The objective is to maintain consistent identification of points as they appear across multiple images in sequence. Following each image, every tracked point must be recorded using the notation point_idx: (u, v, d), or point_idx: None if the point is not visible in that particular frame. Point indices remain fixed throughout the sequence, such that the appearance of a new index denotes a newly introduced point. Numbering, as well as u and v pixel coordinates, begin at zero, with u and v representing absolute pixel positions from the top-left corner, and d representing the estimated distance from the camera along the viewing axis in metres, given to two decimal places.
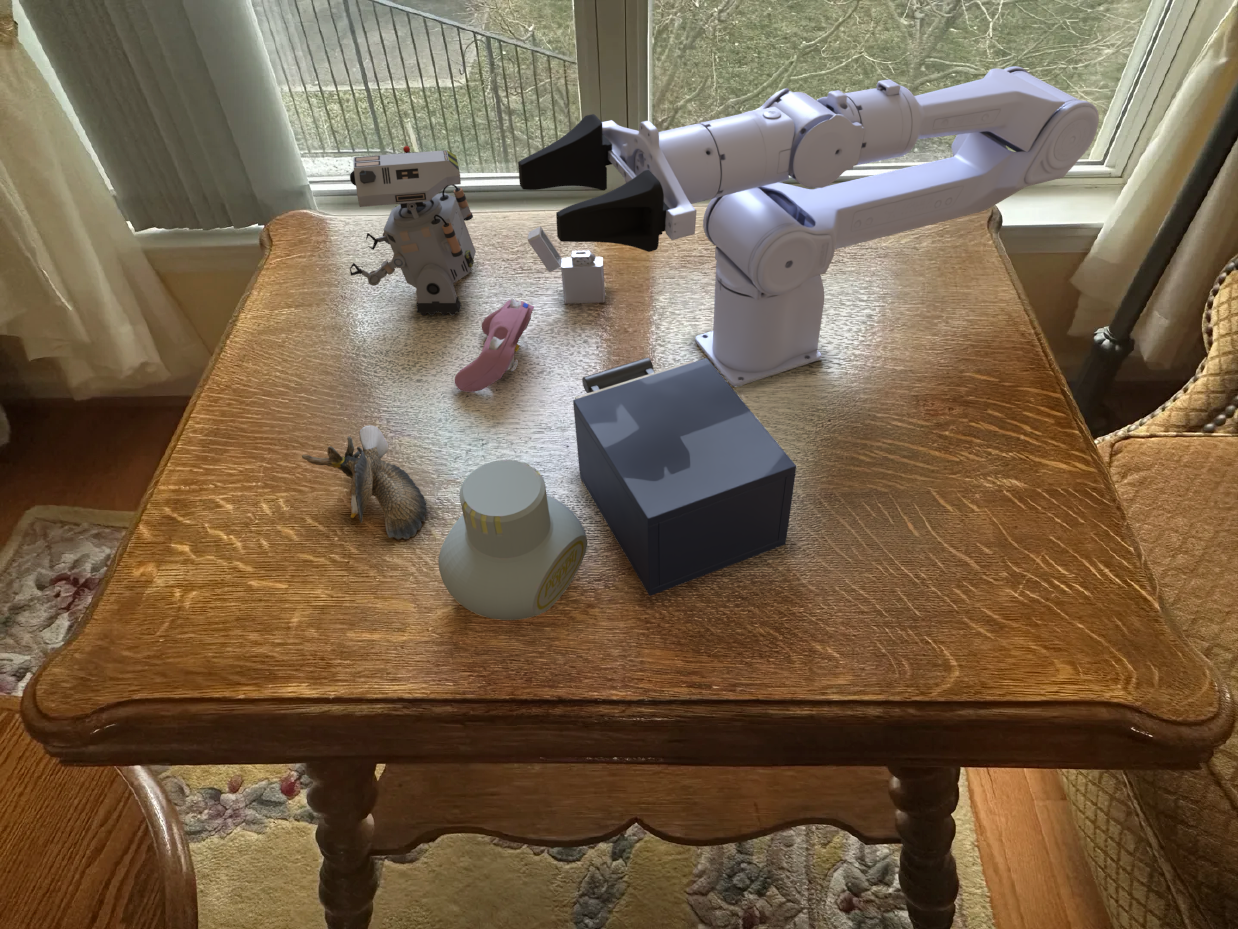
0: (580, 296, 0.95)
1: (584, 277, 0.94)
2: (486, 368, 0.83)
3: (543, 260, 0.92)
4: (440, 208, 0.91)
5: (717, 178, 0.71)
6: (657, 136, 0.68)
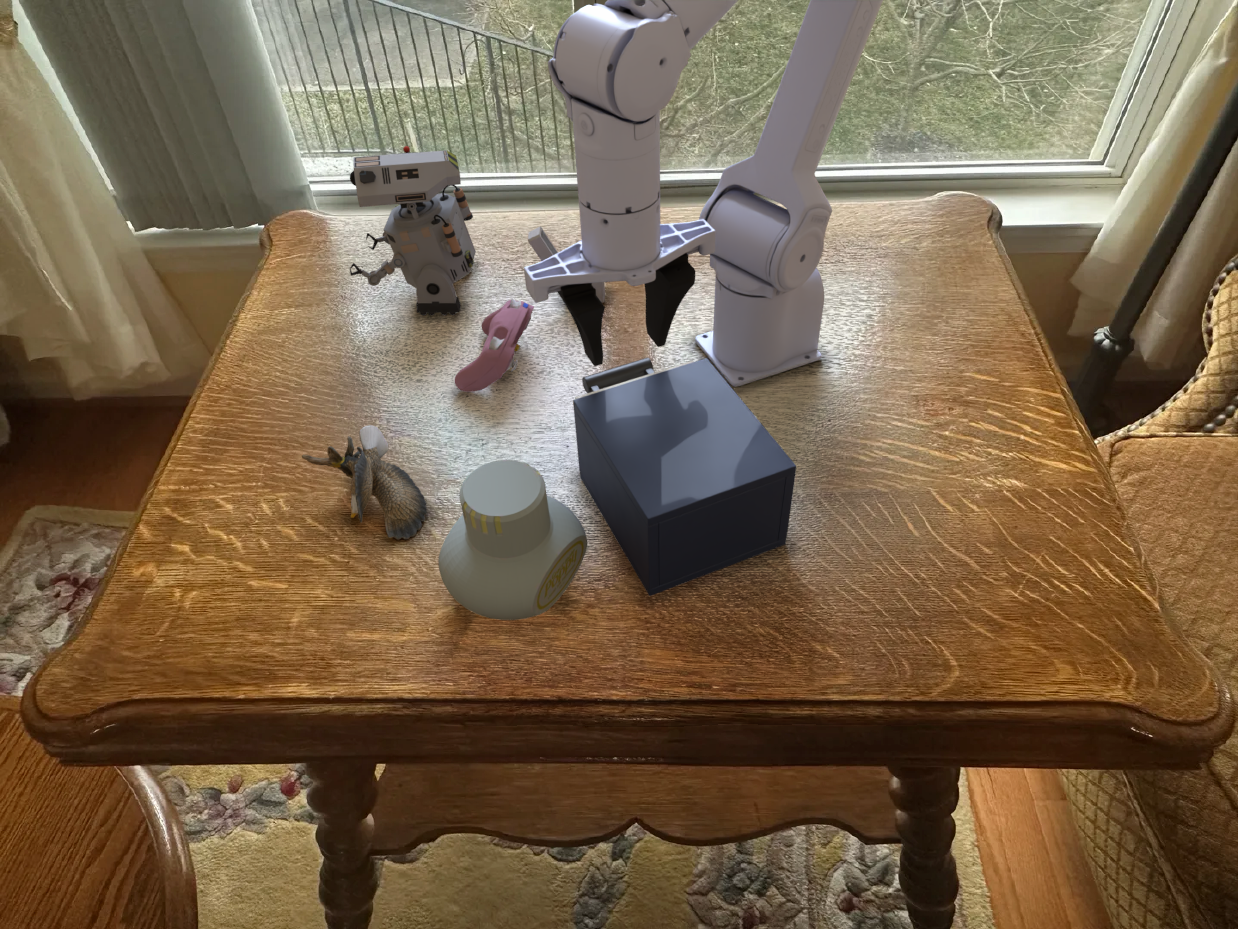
0: None
1: None
2: (486, 368, 0.83)
3: None
4: (440, 209, 0.91)
5: None
6: (655, 271, 0.67)
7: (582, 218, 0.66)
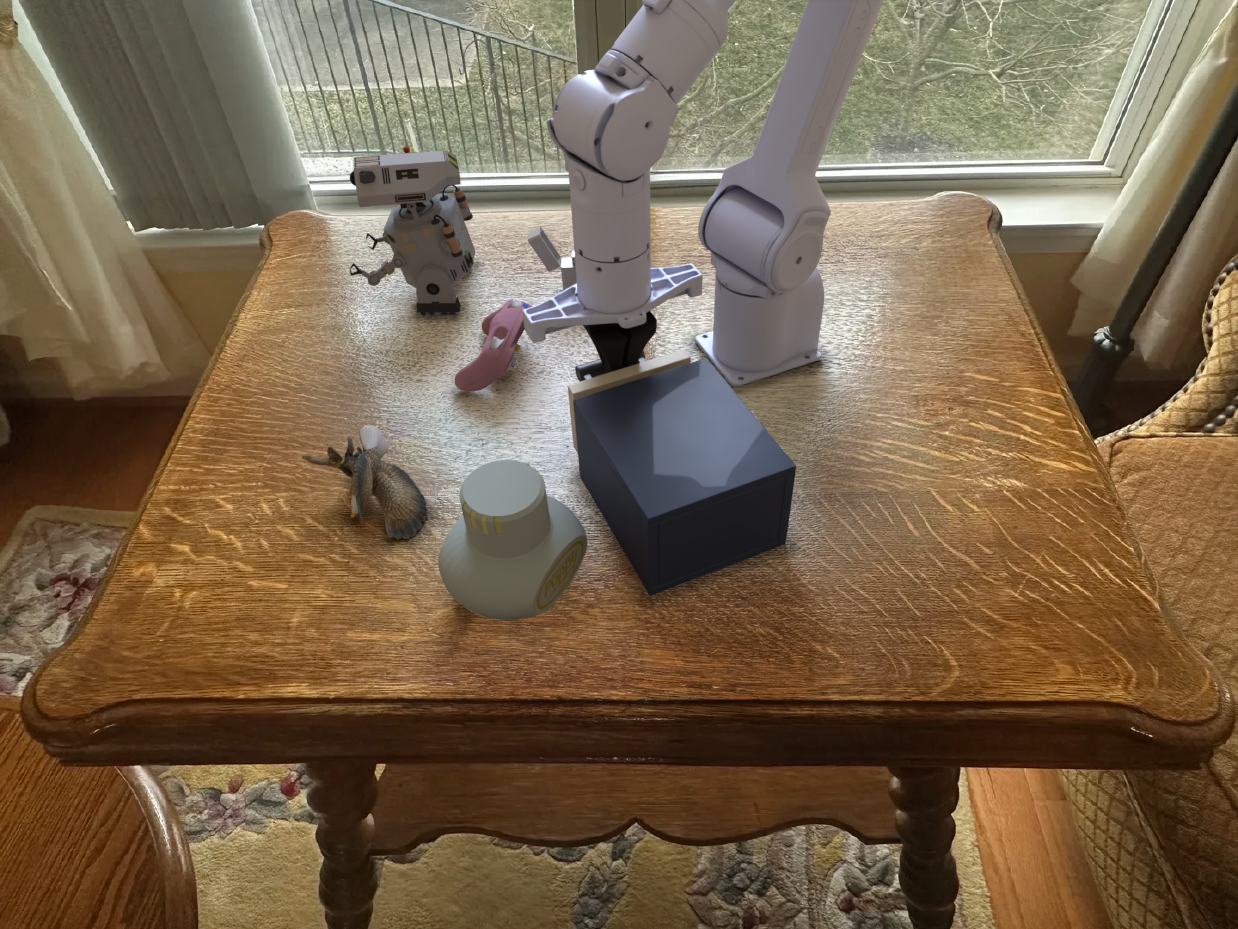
0: None
1: None
2: (486, 368, 0.83)
3: (543, 260, 0.92)
4: (440, 209, 0.91)
5: None
6: (645, 314, 0.71)
7: (577, 265, 0.70)
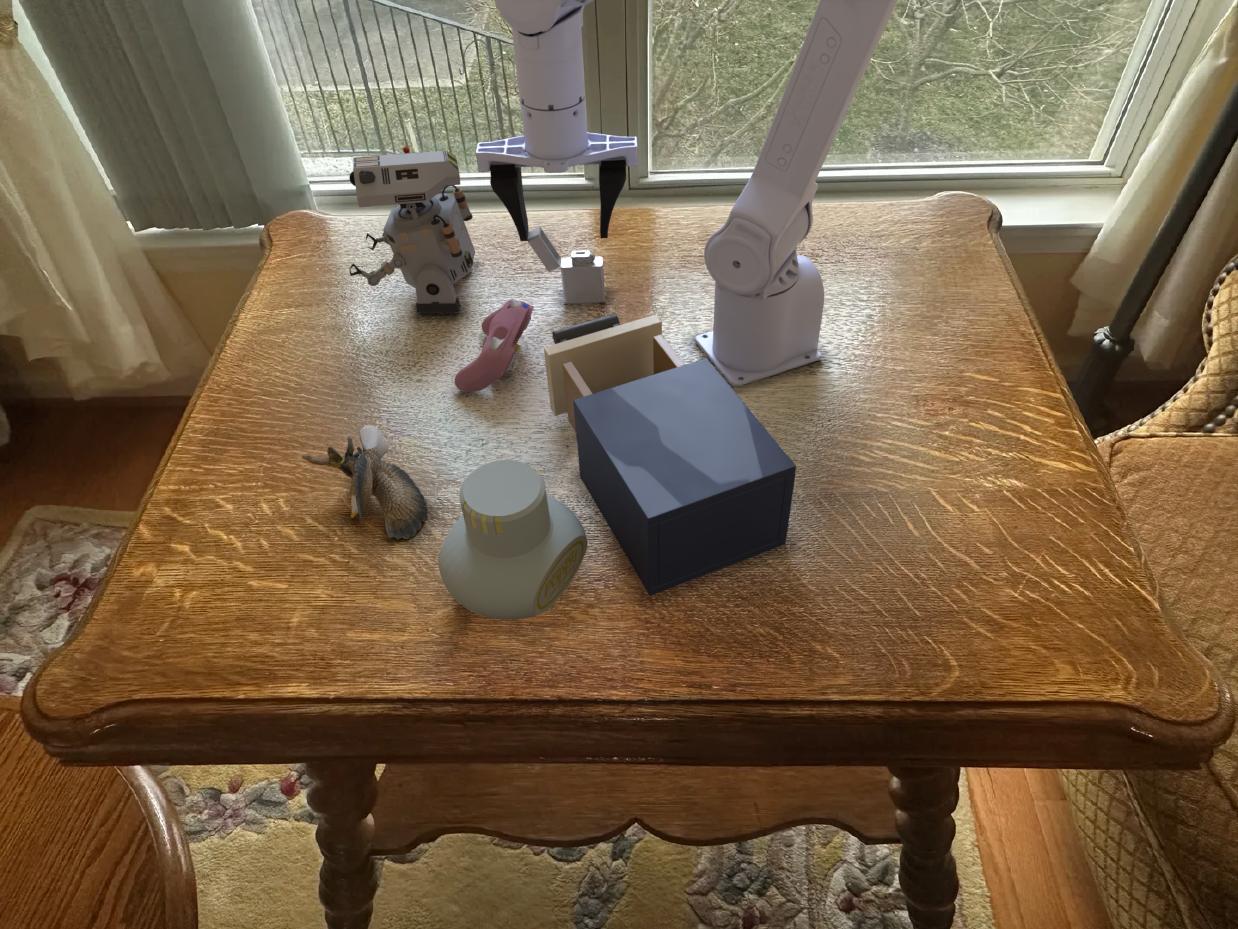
0: (580, 296, 0.95)
1: (584, 277, 0.94)
2: (486, 368, 0.83)
3: (543, 260, 0.92)
4: (440, 209, 0.91)
5: (585, 98, 0.82)
6: (567, 164, 0.82)
7: None
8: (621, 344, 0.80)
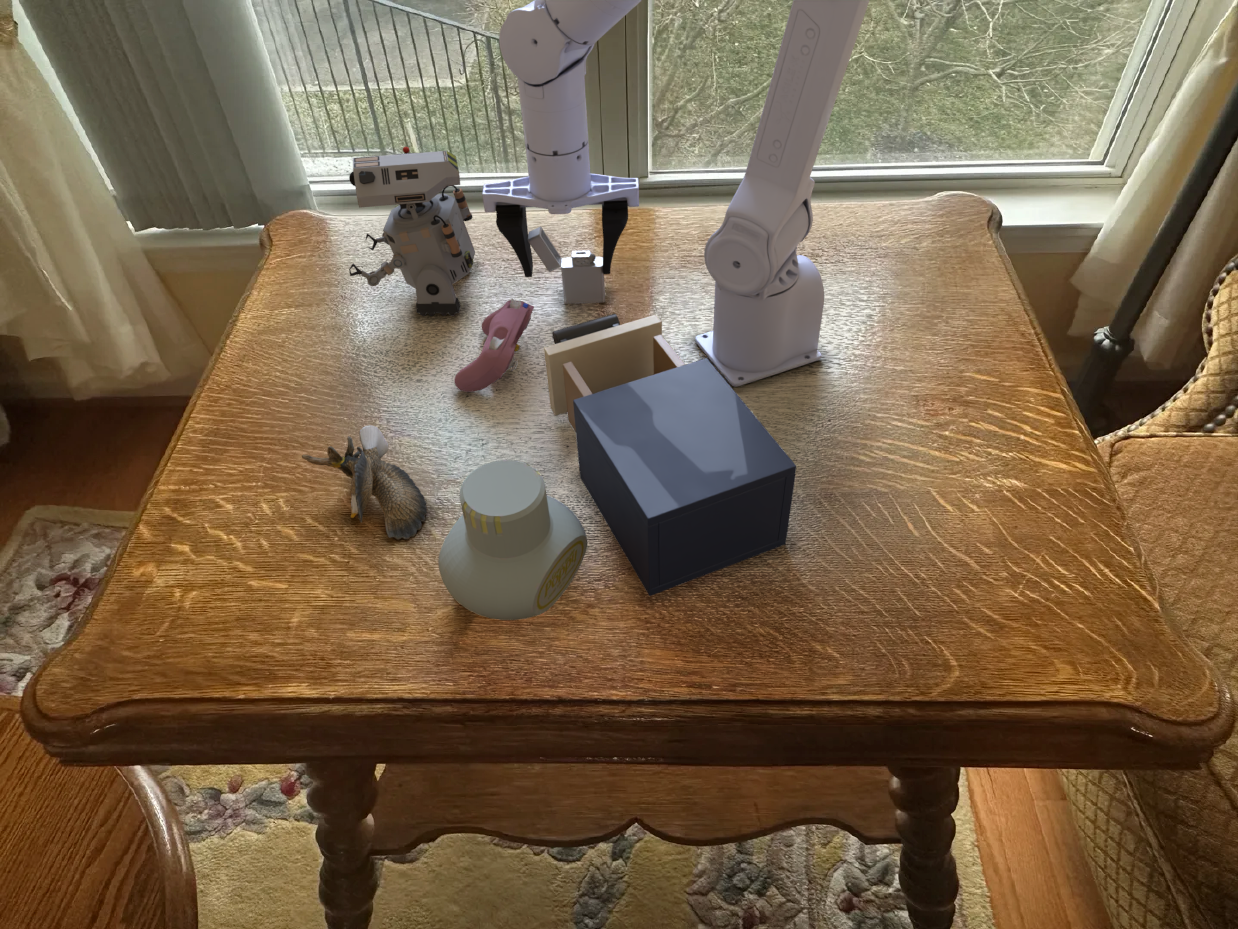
0: (580, 296, 0.95)
1: (584, 277, 0.94)
2: (486, 368, 0.83)
3: (543, 260, 0.92)
4: (440, 209, 0.91)
5: (588, 142, 0.84)
6: (570, 206, 0.85)
7: None
8: (621, 344, 0.80)
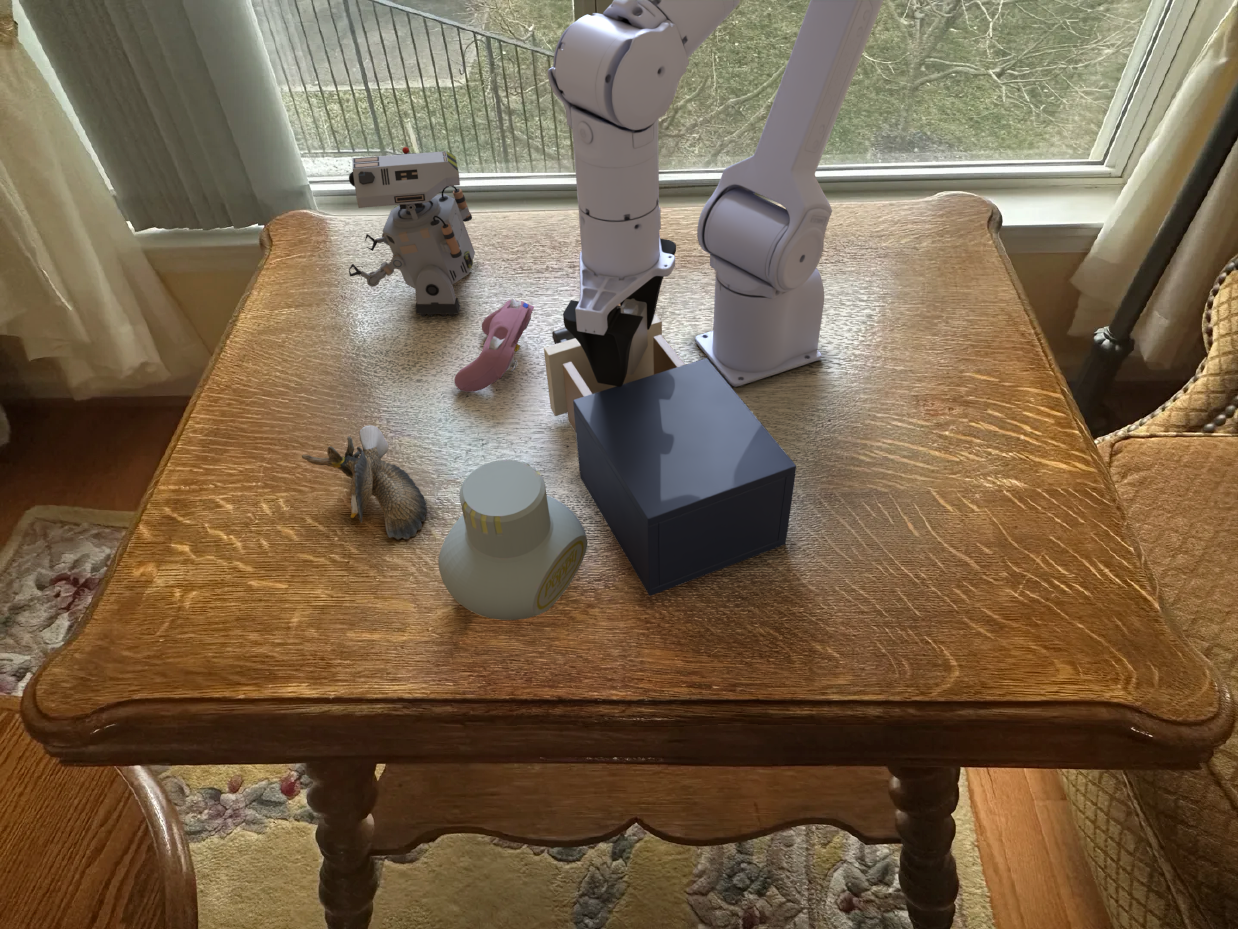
0: (639, 354, 0.77)
1: (640, 328, 0.75)
2: (486, 368, 0.83)
3: None
4: (439, 209, 0.91)
5: None
6: None
7: (606, 236, 0.65)
8: None
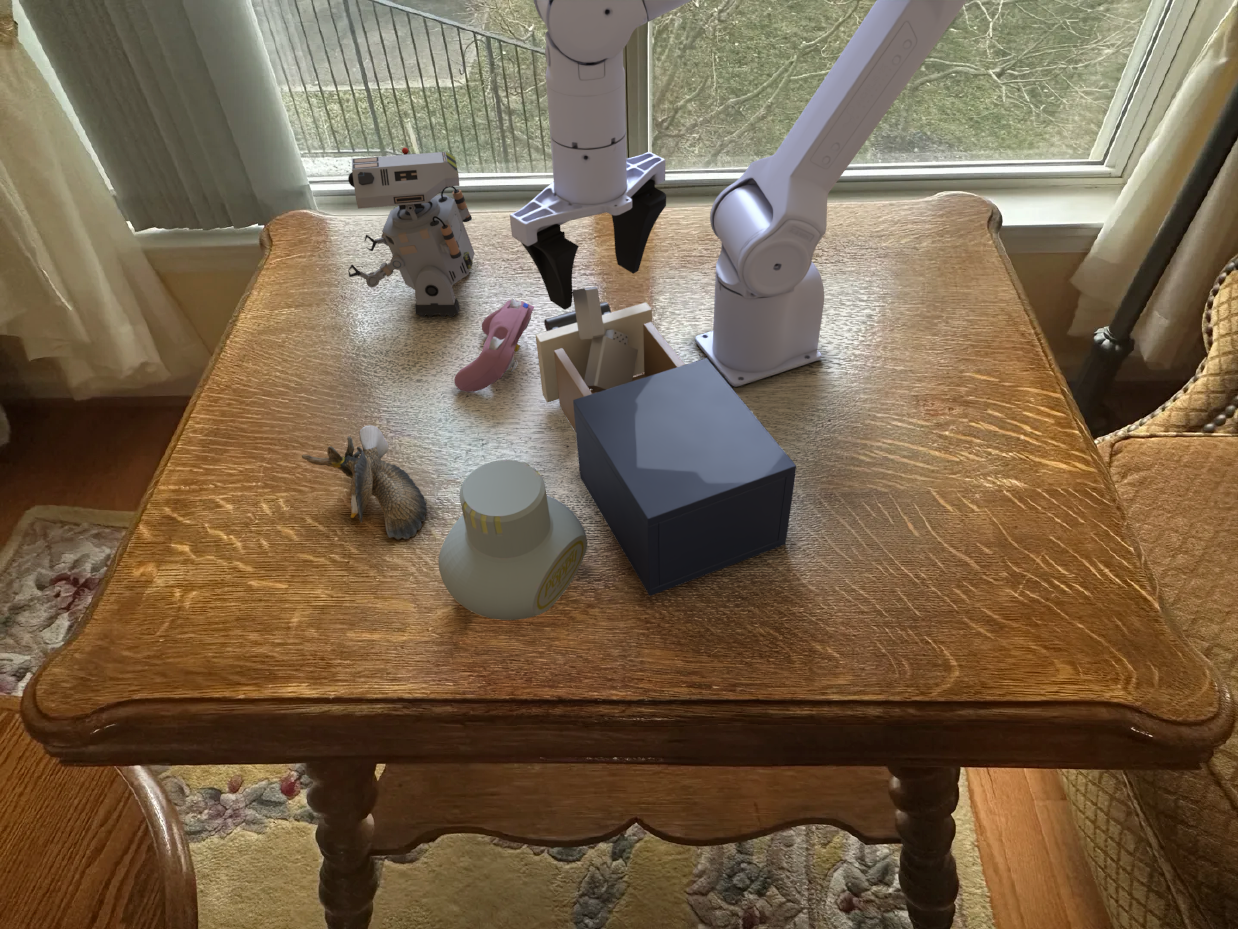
0: (611, 381, 0.79)
1: (621, 357, 0.80)
2: (486, 368, 0.83)
3: (592, 320, 0.78)
4: (439, 210, 0.91)
5: None
6: None
7: (559, 159, 0.70)
8: None
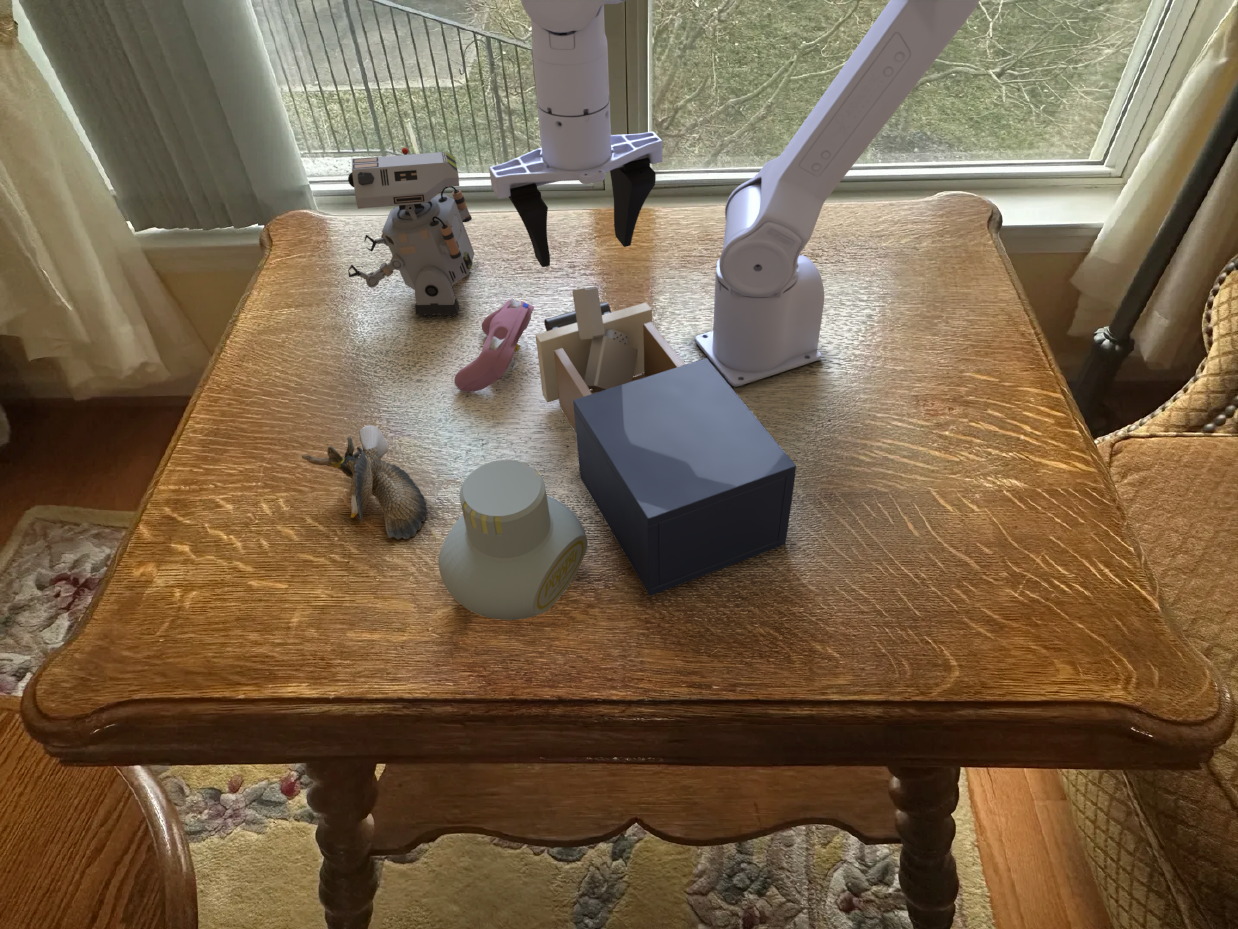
0: (611, 381, 0.79)
1: (621, 357, 0.80)
2: (486, 368, 0.83)
3: (592, 320, 0.78)
4: (439, 210, 0.91)
5: None
6: (604, 171, 0.75)
7: (540, 122, 0.74)
8: None
